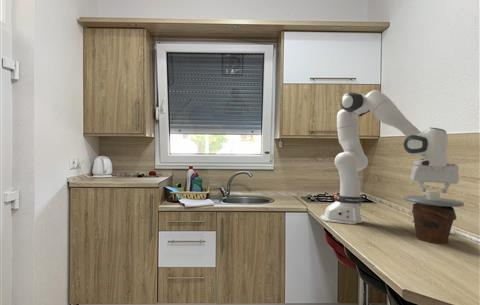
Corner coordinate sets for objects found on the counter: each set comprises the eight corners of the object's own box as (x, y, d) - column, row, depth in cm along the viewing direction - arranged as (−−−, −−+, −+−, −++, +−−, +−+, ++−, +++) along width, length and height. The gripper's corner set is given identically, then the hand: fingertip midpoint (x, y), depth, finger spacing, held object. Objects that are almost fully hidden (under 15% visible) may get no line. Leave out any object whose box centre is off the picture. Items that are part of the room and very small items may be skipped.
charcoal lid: (418, 204, 143) (418, 193, 143) (396, 196, 167) (396, 186, 167) (476, 208, 142) (476, 196, 142) (445, 199, 166) (446, 189, 165)
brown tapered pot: (446, 236, 162) (447, 199, 162) (461, 247, 143) (463, 206, 142) (406, 232, 167) (407, 197, 167) (416, 243, 148) (417, 203, 147)
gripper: (454, 163, 157) (452, 192, 157) (409, 161, 158) (408, 190, 158) (462, 164, 150) (460, 194, 151) (416, 161, 152) (414, 191, 152)
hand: (433, 192), depth 154 cm, fingers open, 8 cm apart
